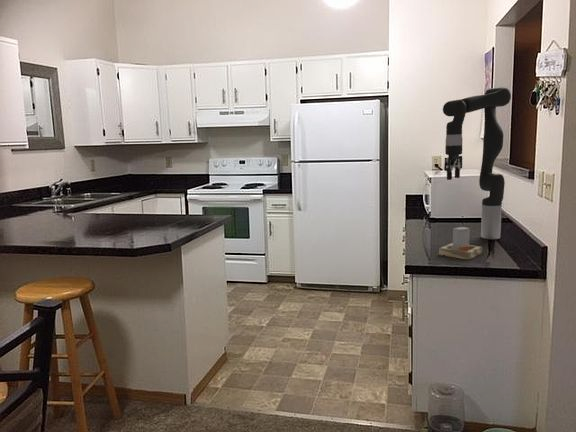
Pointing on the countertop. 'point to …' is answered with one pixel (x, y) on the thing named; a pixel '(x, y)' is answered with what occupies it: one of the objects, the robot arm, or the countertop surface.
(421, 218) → the countertop surface
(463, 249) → the skincare box
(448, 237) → the countertop surface
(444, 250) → the birch stand
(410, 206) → the countertop surface
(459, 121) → the robot arm
